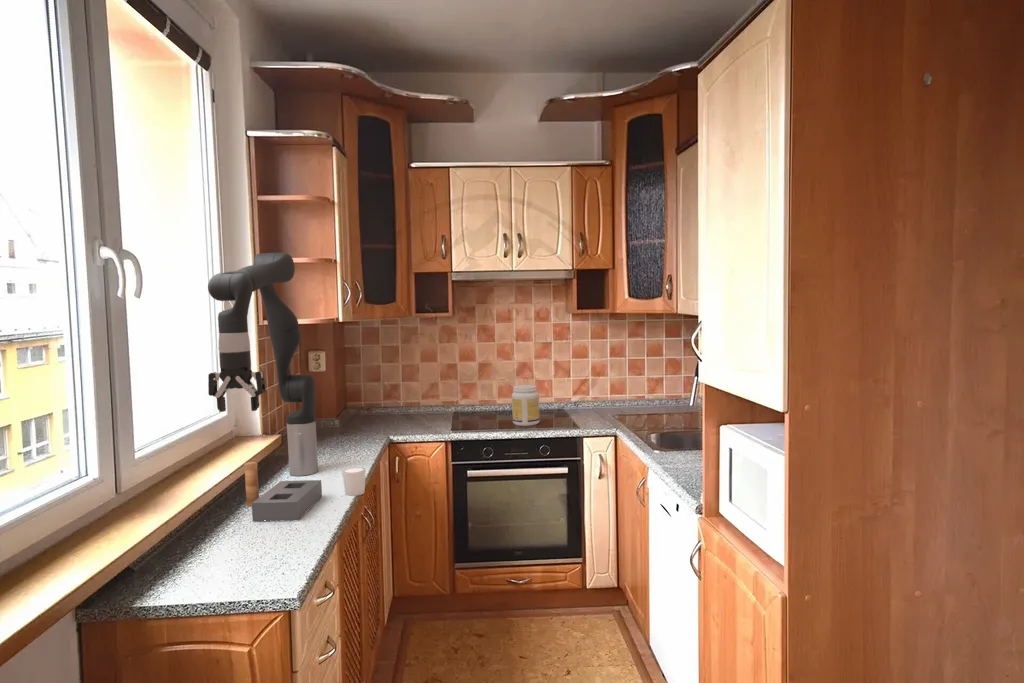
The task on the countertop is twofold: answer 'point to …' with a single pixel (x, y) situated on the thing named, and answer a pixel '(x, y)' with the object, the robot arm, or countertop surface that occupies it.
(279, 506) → the hole block
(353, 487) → the shot glass
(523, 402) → the supplement tub
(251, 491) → the peg
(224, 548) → the countertop surface
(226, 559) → the countertop surface
